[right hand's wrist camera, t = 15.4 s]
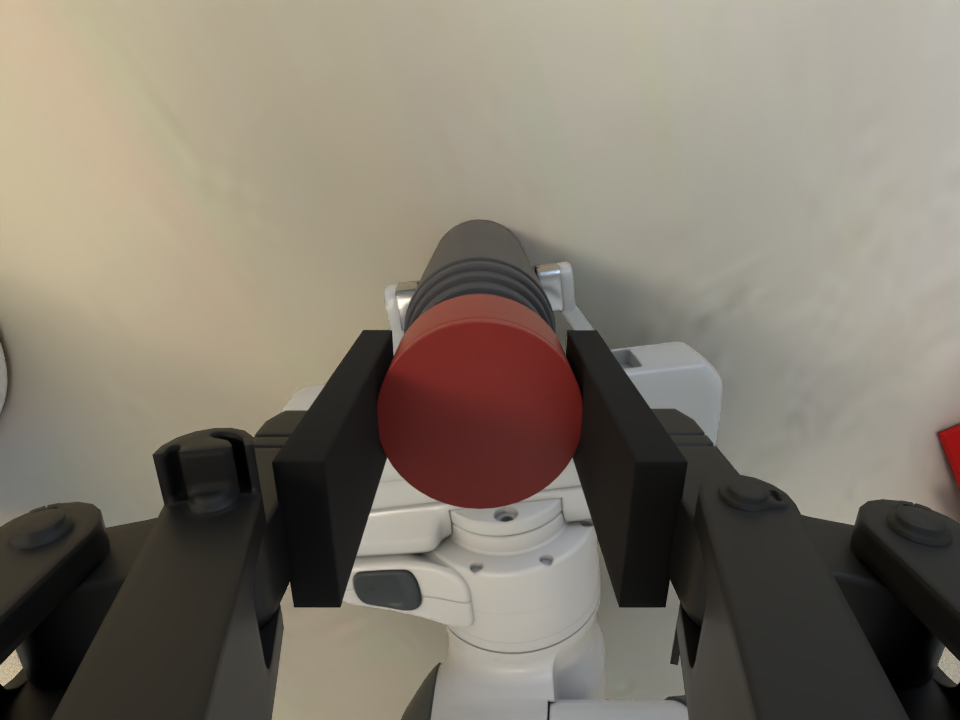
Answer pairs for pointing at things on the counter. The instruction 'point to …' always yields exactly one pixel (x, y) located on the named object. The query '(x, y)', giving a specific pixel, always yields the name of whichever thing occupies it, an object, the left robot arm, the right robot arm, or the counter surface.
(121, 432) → the counter surface
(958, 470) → the toy
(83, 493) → the counter surface
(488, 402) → the cap
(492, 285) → the bottle
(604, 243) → the counter surface
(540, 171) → the counter surface
